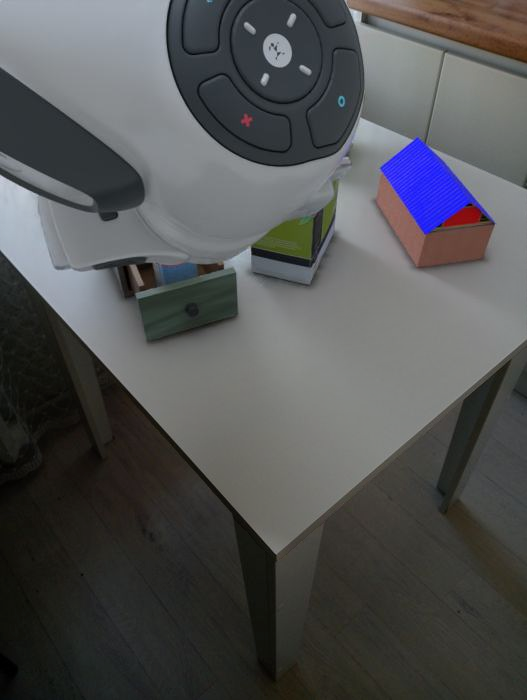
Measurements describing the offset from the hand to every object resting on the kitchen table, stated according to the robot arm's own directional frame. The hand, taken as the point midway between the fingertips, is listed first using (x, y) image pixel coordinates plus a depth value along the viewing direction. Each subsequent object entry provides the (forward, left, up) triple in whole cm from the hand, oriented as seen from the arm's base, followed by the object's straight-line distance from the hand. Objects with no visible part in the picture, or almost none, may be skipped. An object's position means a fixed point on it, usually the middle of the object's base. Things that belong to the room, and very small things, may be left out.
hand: (180, 230), depth 46 cm
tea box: (+25, +27, -30) cm, 47 cm away
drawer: (+4, +23, -28) cm, 37 cm away
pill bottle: (+4, +23, -27) cm, 36 cm away
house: (+49, +24, -30) cm, 62 cm away
